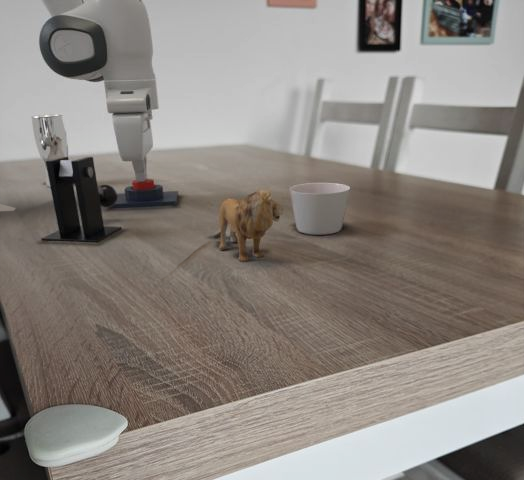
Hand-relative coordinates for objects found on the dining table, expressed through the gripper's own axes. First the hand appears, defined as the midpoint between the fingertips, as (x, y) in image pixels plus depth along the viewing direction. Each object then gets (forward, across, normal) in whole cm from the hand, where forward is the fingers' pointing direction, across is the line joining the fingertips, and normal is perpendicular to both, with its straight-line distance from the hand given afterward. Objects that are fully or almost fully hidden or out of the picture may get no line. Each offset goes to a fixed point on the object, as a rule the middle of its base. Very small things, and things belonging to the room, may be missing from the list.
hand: (141, 180), depth 103 cm
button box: (+5, 0, 0) cm, 5 cm away
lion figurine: (+5, +34, +17) cm, 38 cm away
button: (+2, 0, 0) cm, 2 cm away
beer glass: (+5, -29, -23) cm, 37 cm away
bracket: (+5, +23, -7) cm, 24 cm away
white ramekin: (+5, +24, +29) cm, 38 cm away
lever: (-1, +20, -6) cm, 20 cm away
